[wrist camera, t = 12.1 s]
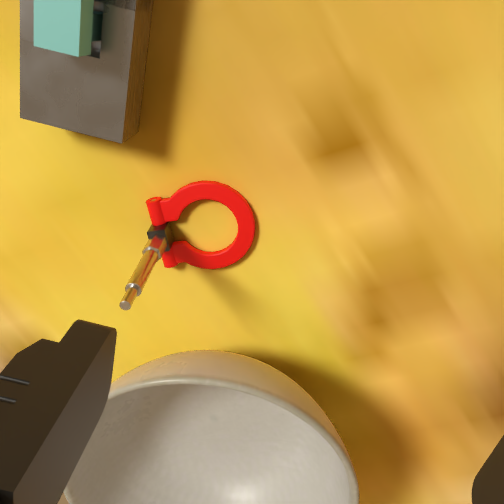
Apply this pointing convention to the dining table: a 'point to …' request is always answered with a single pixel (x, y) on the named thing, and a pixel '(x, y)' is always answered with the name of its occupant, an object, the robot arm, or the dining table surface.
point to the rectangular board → (89, 74)
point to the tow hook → (182, 250)
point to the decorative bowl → (212, 438)
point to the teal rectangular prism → (66, 26)
